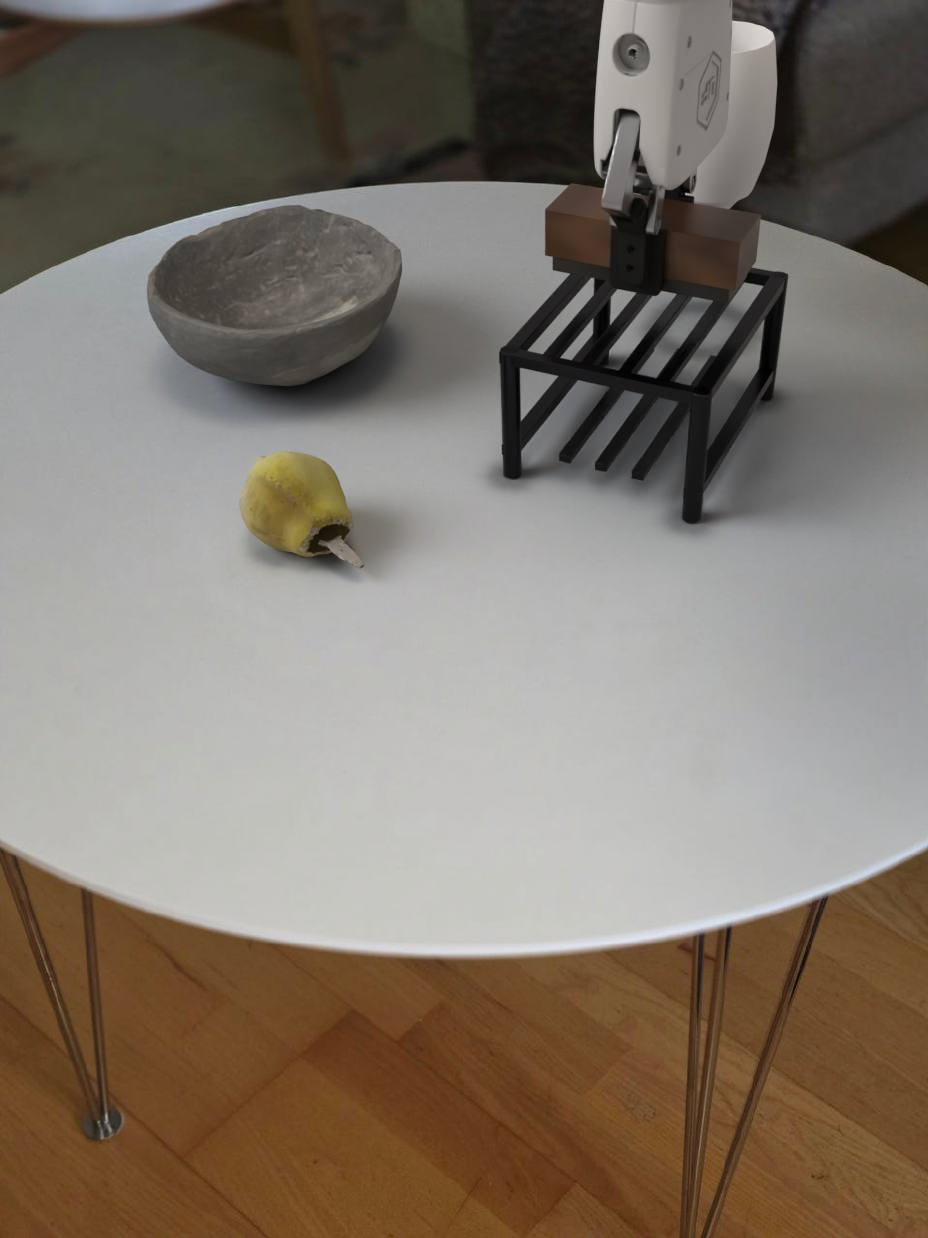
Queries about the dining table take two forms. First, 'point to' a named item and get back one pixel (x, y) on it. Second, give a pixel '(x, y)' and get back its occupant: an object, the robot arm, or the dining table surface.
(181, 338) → the bowl
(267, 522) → the fruit
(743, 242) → the brown wooden block
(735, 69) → the cup
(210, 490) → the dining table surface
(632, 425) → the rack
